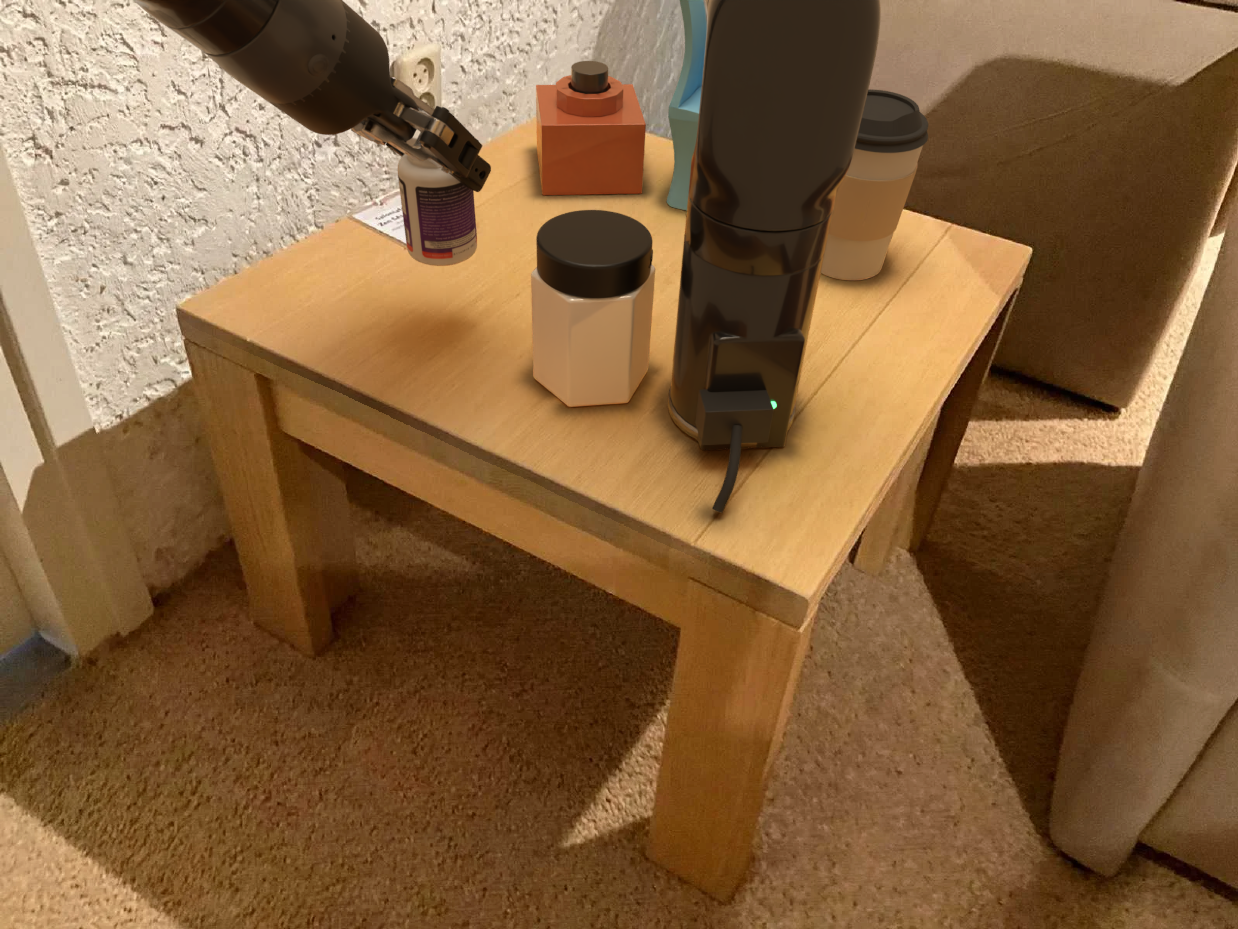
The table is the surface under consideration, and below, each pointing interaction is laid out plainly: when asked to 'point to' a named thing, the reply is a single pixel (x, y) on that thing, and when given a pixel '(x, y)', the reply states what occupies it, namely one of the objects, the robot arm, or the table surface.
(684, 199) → the vase
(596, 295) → the jar
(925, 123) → the coffee cup
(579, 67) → the box button
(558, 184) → the orange box with knob
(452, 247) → the pill bottle
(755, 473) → the table surface
